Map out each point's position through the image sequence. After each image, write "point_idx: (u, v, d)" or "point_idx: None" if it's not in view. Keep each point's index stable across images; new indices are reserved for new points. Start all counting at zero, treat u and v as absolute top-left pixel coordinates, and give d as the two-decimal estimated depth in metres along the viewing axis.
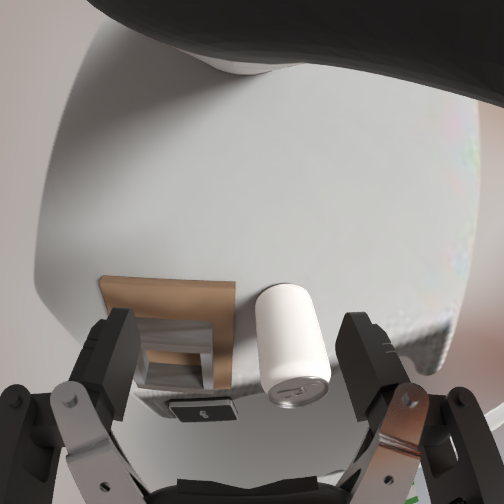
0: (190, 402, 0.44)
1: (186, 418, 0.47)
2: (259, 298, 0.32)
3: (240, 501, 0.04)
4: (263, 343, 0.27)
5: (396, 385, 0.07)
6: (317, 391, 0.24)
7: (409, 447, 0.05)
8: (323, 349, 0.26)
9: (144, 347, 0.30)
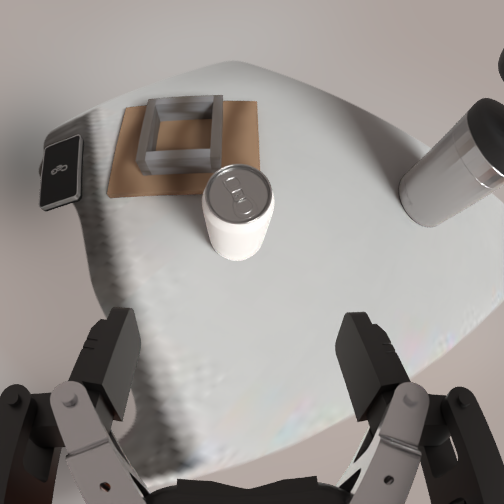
0: (80, 157, 0.37)
1: (53, 152, 0.36)
2: None
3: (240, 501, 0.04)
4: None
5: (395, 385, 0.07)
6: (235, 214, 0.24)
7: (409, 447, 0.05)
8: (261, 232, 0.27)
9: (215, 110, 0.35)
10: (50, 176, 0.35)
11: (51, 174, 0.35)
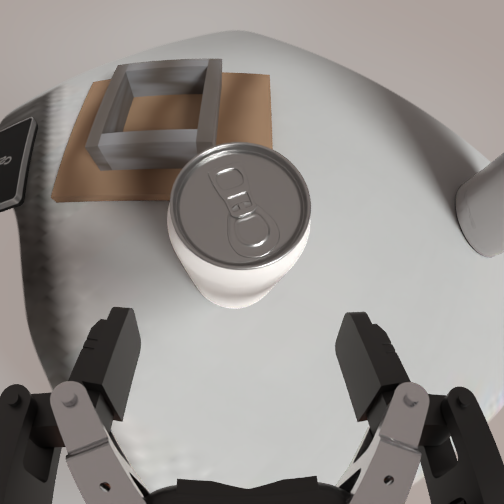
0: (29, 146, 0.24)
1: (0, 140, 0.23)
2: None
3: (240, 501, 0.04)
4: None
5: (395, 385, 0.07)
6: (231, 246, 0.11)
7: (409, 447, 0.05)
8: None
9: (209, 76, 0.22)
10: None
11: None
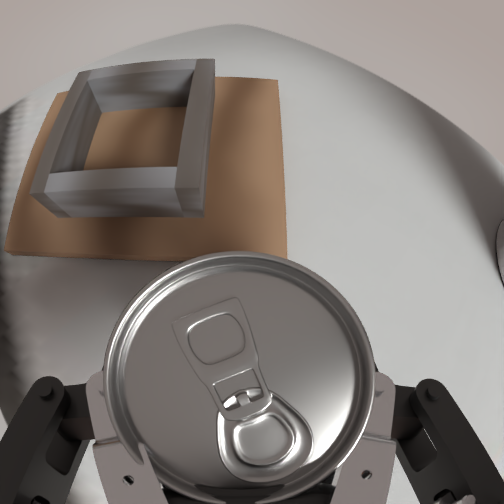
0: None
1: None
2: None
3: (240, 501, 0.04)
4: None
5: None
6: (227, 468, 0.05)
7: (382, 438, 0.06)
8: None
9: (196, 84, 0.16)
10: None
11: None
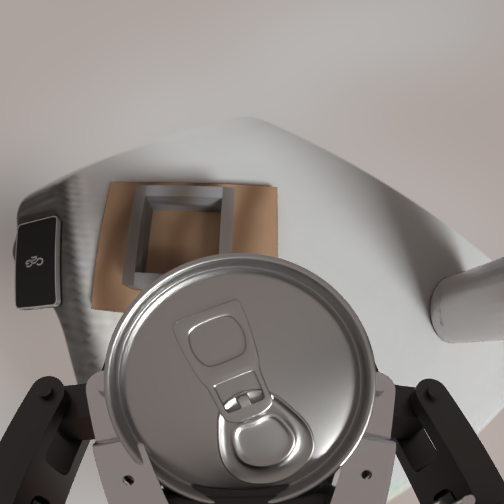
0: (58, 248, 0.30)
1: (26, 234, 0.29)
2: None
3: (240, 501, 0.04)
4: None
5: None
6: (227, 469, 0.05)
7: (382, 438, 0.06)
8: None
9: (224, 212, 0.29)
10: (25, 269, 0.28)
11: (26, 266, 0.28)
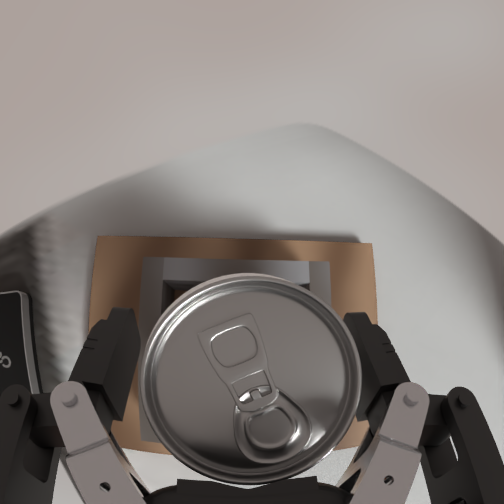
0: (30, 343, 0.17)
1: None
2: None
3: (240, 501, 0.04)
4: None
5: (395, 385, 0.07)
6: (241, 452, 0.06)
7: (409, 447, 0.05)
8: None
9: None
10: None
11: None
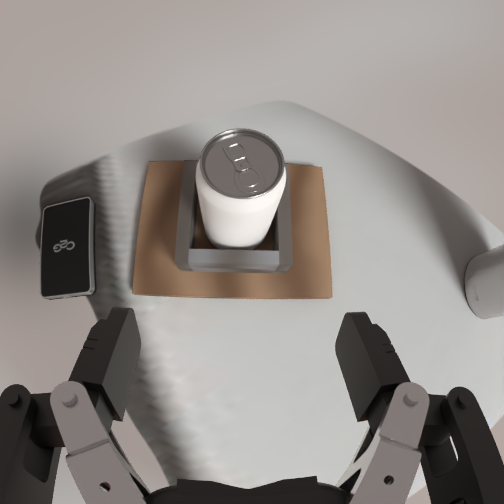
0: (92, 231, 0.29)
1: (54, 217, 0.29)
2: None
3: (240, 501, 0.04)
4: None
5: (396, 385, 0.07)
6: (237, 187, 0.19)
7: (409, 447, 0.05)
8: (268, 215, 0.22)
9: None
10: (52, 254, 0.28)
11: (53, 251, 0.28)
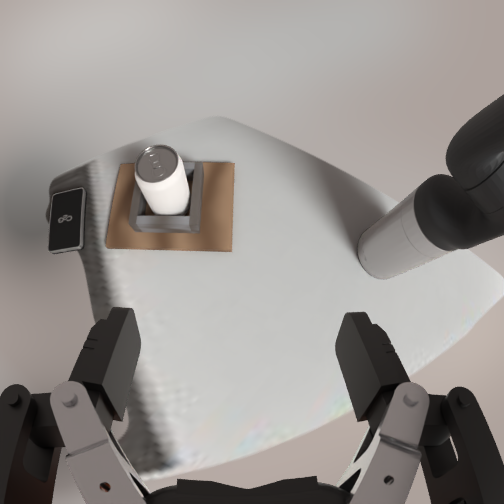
0: (83, 209, 0.44)
1: (59, 200, 0.44)
2: None
3: (240, 501, 0.04)
4: None
5: (395, 385, 0.07)
6: (152, 176, 0.34)
7: (409, 447, 0.05)
8: (174, 192, 0.37)
9: (195, 177, 0.43)
10: (57, 224, 0.43)
11: (58, 222, 0.43)
